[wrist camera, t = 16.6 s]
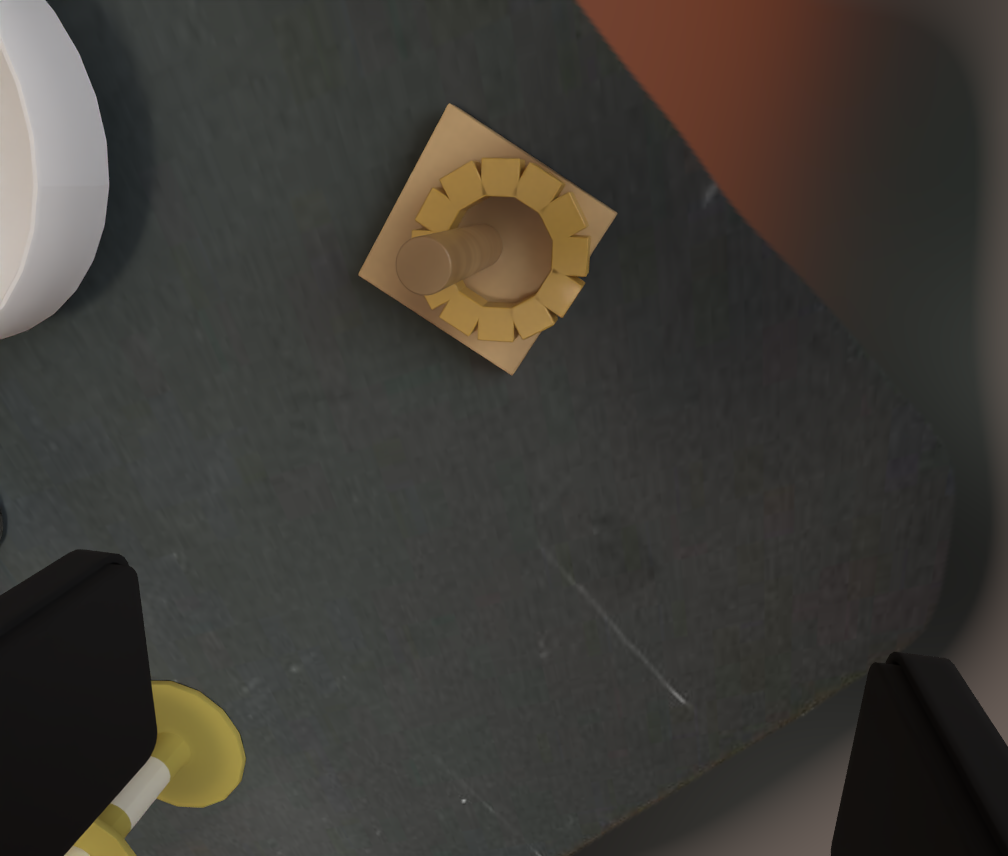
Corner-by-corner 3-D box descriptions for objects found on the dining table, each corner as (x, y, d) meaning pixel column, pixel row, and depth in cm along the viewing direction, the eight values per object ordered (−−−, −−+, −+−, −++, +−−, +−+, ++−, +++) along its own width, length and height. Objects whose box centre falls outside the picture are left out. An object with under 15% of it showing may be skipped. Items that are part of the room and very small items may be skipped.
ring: (624, 222, 34) (623, 224, 32) (529, 367, 36) (525, 374, 35) (475, 123, 33) (467, 120, 32) (391, 276, 36) (380, 280, 35)
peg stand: (618, 213, 35) (607, 223, 24) (516, 369, 38) (467, 440, 27) (456, 106, 35) (372, 68, 24) (367, 271, 38) (258, 304, 27)
